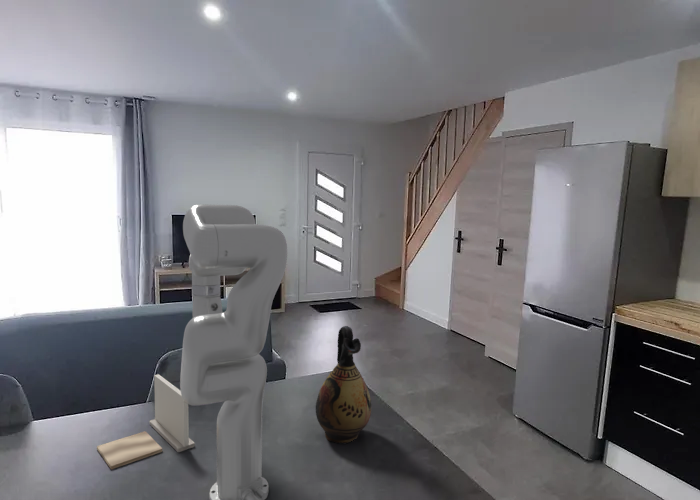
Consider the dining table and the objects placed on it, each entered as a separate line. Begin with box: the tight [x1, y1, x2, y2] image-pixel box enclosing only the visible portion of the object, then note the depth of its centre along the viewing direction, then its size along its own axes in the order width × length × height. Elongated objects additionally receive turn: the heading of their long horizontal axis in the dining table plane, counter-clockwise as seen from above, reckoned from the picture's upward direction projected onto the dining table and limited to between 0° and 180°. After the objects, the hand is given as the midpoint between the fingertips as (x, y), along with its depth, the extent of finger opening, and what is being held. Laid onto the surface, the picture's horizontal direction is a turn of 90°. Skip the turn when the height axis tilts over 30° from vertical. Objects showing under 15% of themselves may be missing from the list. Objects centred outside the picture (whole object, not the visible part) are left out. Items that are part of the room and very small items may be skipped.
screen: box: [148, 373, 196, 453], centre depth 123 cm, size 20×4×14 cm, turn 43°
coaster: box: [96, 430, 163, 470], centre depth 115 cm, size 12×12×1 cm
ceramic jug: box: [315, 325, 373, 445], centre depth 125 cm, size 17×15×30 cm
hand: (206, 353), depth 128 cm, fingers closed on supplement bottle, 4 cm apart
